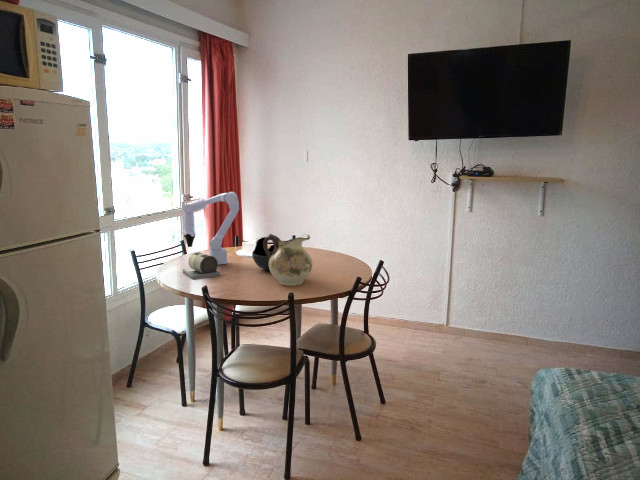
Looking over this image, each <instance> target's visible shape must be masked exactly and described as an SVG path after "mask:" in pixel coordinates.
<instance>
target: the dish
mask: <svg viewBox="0 0 640 480" xmlns="http://www.w3.org/2000/svg"><path fill="white" fill-rule="evenodd" d="M261 238H263V237H262V236H261ZM258 240H259V239H258V238H257V237H256V239H253V241H242V242H241V245H242V247H241V249H238V250H236V255H237V256H238V257H243V258H253V256H252V252H253V251H254V249H255V247H256V242H257V241H258Z"/></svg>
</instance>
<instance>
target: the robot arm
mask: <svg viewBox="0 0 640 480" xmlns="http://www.w3.org/2000/svg"><path fill="white" fill-rule="evenodd" d="M218 202H223V203H226V204H227V205H228V208H229V212H228V213H227V215H226V217H225V219H224V220H223V222H222V224H221V226H220V228H219V229H218V231H217V232H216V234H215V236H213V237H212V238H211V240H210V241H209V247H210V248H209V256H213V257H215V258H216V260H217V262H218V266H219V265H224V264H225V265H227V264H228V253H227V249H226V248H225V247H222V243H223V239H224V238H225V235H226V233H227V232H228V230H229V228H230V227H231V225H232V223H233V222H234V220H235V218H236V216H237V215H238V212H239V211H240V205H239V204H240V202H239V196H238V195H237V193H236V192H234V191H229V192H224V193H220V194H217V195H215V196H214V195H213V196H212V197H210V198H207V199H204V198H201V197H199V198H197V200H194V201H191V200H190V202H188V203H186V204H184V205H183V207H182V211H183V227H184V228H183V231H182V232H181V233H182V234H184V235H183V237H184V238H185V240H186V241H185V242H186V245H187V247H188V248H192V247H193V244H194V240H195V238H196V231H195V216H194V212H197V211H200V210H203V209H206V208H207V206H208V205H211V204H214V203H218Z"/></svg>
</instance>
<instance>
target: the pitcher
mask: <svg viewBox="0 0 640 480" xmlns="http://www.w3.org/2000/svg"><path fill="white" fill-rule="evenodd" d="M265 237H266V238H265V239H264V241H263V248H264V250H265V253H266V255H267V257H268V259H269V269H270V270H269V272H270V274H271V275H272V276H273V277H274V278H275V279H276V280H277V281H278V283H279V285H282V286H286V287H292V286H295V287H296V286H300V285H302V284H303V283H304V280H306V278H308V276H309V275H310V274H311V271H312V269H313V259H312V257H311V255H310V254H309V253H308V251H306V249H305V248H304V247H303V246H302V245H303V243H304V242H305V241H308V240H310V238H311V236H310V235H309V234H308V233H307V234H303V235H301V236H300V237H296V238H293V239H290V240H288V241H287V240H281V238H279V237H278V236H276V235H275V234H272V233H269V234H268V235H267V236H265ZM269 241H272V243H273V244H274V250H273V254H272V256H271V255H270V252H269V250H268V249H269V246H268V243H269ZM278 245H279V246H278Z"/></svg>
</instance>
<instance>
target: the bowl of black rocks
mask: <svg viewBox="0 0 640 480" xmlns="http://www.w3.org/2000/svg"><path fill="white" fill-rule="evenodd" d="M266 237H267V236H264V237H263V238H262V237H260V238H259V239H258V241H257V242H256V247H255V249H254V251H253V252H252V256H253V257H252V259H253V261H254V263H255V264H256V265H257V266H258V267H259V268H261V269H262V270H265V271H270V269H269V259H268V257H267V255H266V253H265V250H264V248H263V241H264V239H265V238H266ZM278 246H279V245H278ZM268 250H269V252H270V255H271V256H272V254H273V250H274V243H273V244H272V245H270V247H268Z"/></svg>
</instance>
